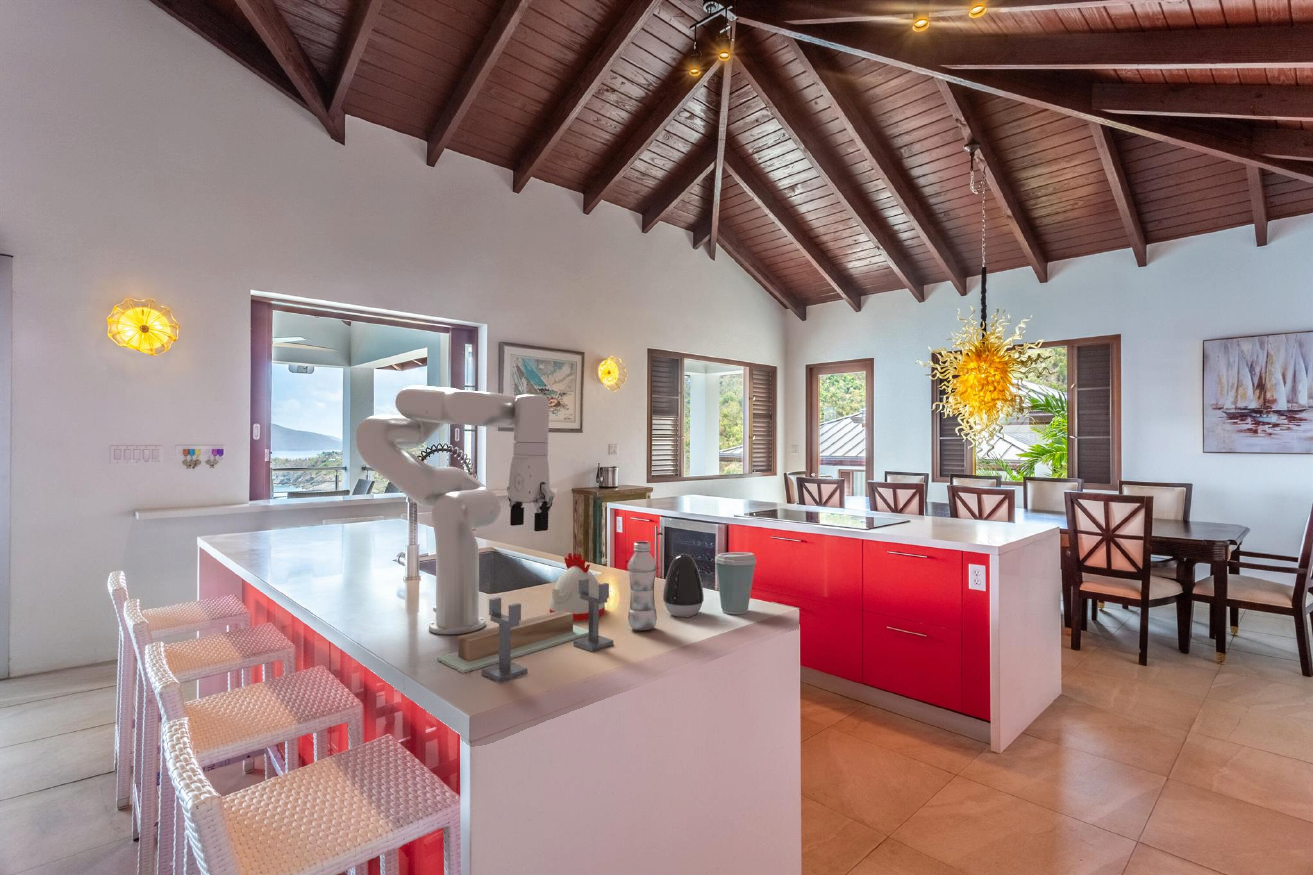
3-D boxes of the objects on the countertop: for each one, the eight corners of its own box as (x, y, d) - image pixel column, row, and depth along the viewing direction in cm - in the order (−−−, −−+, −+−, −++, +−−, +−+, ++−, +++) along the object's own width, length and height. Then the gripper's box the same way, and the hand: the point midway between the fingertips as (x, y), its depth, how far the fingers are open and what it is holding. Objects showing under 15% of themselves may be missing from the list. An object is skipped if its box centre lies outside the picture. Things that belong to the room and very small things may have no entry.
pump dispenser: (711, 612, 155) (711, 552, 155) (691, 622, 146) (691, 559, 146) (676, 606, 160) (676, 548, 160) (655, 616, 151) (655, 554, 152)
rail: (458, 656, 121) (458, 636, 121) (561, 627, 140) (561, 610, 140) (468, 661, 118) (469, 641, 118) (573, 631, 137) (573, 613, 137)
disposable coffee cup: (705, 611, 155) (705, 552, 156) (730, 603, 163) (730, 547, 164) (740, 619, 148) (740, 558, 148) (764, 610, 156) (764, 552, 156)
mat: (437, 660, 121) (437, 657, 121) (564, 624, 144) (564, 622, 144) (463, 673, 114) (463, 670, 114) (592, 633, 137) (592, 631, 137)
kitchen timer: (576, 602, 164) (576, 547, 165) (615, 610, 156) (615, 552, 157) (538, 614, 153) (538, 554, 153) (578, 623, 145) (578, 560, 145)
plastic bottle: (653, 634, 137) (653, 545, 137) (624, 632, 138) (624, 544, 138) (659, 626, 143) (659, 540, 143) (631, 624, 144) (631, 539, 145)
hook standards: (479, 673, 114) (479, 601, 114) (592, 638, 134) (592, 576, 134) (501, 684, 109) (502, 608, 109) (615, 645, 129) (615, 581, 129)
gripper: (495, 449, 139) (493, 524, 139) (538, 452, 126) (535, 534, 126) (524, 449, 144) (522, 521, 144) (567, 452, 131) (565, 531, 131)
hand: (528, 527), depth 135 cm, fingers open, 9 cm apart
